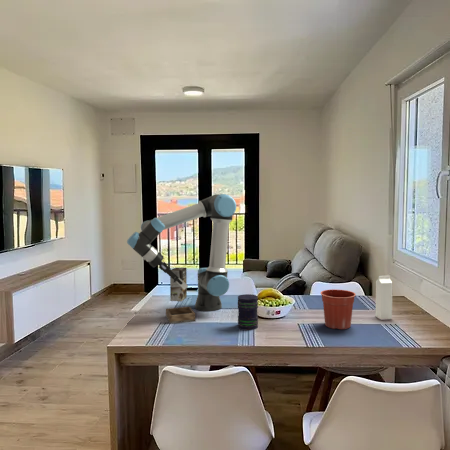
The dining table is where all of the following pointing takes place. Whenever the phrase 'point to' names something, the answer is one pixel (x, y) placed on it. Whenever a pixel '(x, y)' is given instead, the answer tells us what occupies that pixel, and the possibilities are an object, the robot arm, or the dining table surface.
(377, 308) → the milk
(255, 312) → the storage jar
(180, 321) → the wooden tray
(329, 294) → the flower pot
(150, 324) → the dining table surface
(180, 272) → the coffee box
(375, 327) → the dining table surface
